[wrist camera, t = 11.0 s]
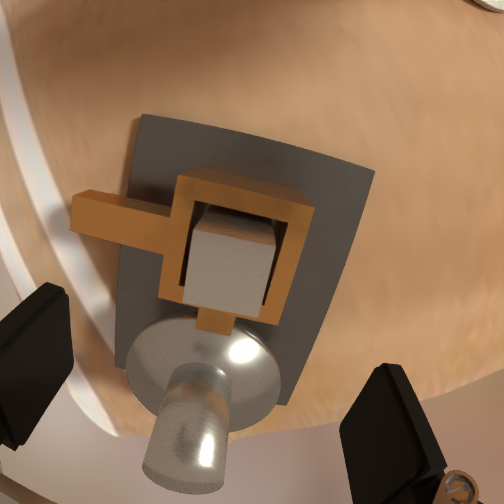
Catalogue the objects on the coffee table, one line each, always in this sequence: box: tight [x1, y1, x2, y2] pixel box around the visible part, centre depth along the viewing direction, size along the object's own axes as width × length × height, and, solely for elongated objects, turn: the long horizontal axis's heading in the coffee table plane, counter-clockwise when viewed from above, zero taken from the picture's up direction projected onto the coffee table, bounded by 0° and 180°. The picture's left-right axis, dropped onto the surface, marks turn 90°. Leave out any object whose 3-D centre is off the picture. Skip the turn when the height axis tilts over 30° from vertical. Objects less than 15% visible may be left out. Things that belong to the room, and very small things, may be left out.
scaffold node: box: [70, 114, 375, 495], centre depth 20 cm, size 24×20×15 cm
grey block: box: [183, 204, 276, 318], centre depth 20 cm, size 4×4×9 cm
